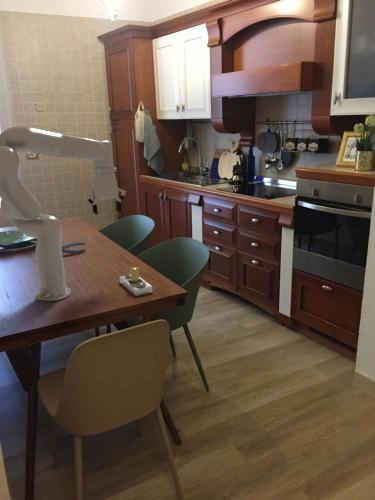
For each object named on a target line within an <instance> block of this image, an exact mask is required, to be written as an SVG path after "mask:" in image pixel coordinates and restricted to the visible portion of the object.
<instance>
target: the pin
mask: <svg viewBox="0 0 375 500" xmlns="http://www.w3.org/2000/svg"><path fill="white" fill-rule="evenodd" d="M139 270H140V269H139V267H138V266H132V267H130V268H129V273H130V277H131V285H132V284H136V283H138V282H139V277H140V271H139Z"/></svg>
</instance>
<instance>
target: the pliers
mask: <svg viewBox="0 0 375 500" xmlns="http://www.w3.org/2000/svg"><path fill="white" fill-rule="evenodd" d="M77 246H86V243H85V242H83V241H82V242H81V241H76V242H71V243H68V244H64V245H63V244H62V255H64V254H71V255H72V254H75V255H76V254H82V253H85V252H86V251H87V250H86V248H84V249H77V250H73V249H71V250H70V249H68V248H71V247H77Z"/></svg>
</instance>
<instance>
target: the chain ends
mask: <svg viewBox="0 0 375 500" xmlns="http://www.w3.org/2000/svg"><path fill="white" fill-rule="evenodd" d="M119 283H120V284H121V285H122V286H124V287H125V288H126V289H127V290H128V291H129V292H130V293H132V295H134V296H135V297H137V296H141V295H142V296H143V295H145V294H150V293H151V294H152V293H153V285H151V284H150V283H148V282H147V281H146V279H143V278H142V277H141V276H139V282H138V283H136V284H132V285H131V277H130V272H129V273H126V274H125V275H122V276H119Z"/></svg>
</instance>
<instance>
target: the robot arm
mask: <svg viewBox="0 0 375 500" xmlns="http://www.w3.org/2000/svg"><path fill="white" fill-rule="evenodd" d="M17 152H20V153H21V152H22V153H23V152H24V153H30V154H36V155H42V156H50V157H53V158H70V159H71V158H74V159H77V160H79V161H83V162H86V161H89V162H90V161H91V162H93V171H94V174H93V175H92V177H91V178H92V180H91V188H92V189H91V190H90V191H88V192H86V193H85V194H84V197H85V199H86V201H87V202H89V203H90V204H91V205H92V212H93V213H94V215H98V214H99V211H98V205H97V203H98V201H104V200H112V199H114V200H116V201H115V210H116V211H117V212H119V213H120V212H121V210H122V205H121V202H122V201H123V199H124V198H125V196H126V193H127V191H126V190H124V189H122V188H120V187H119V186H118V181H117V178H116V174H115V172H117V167H114V165H113V154H112V153H113V152H112V144H111V141H109V140H102V139H101V140H95V139H91V138H86V137H81V136H75V135H74V136H73V135H69V134H64V133H58V132H53V131H49V130H48V131H47V130H44V129H39V128H35V127H30V126H12V127H9V128H7V129H5V130H4V131H2V132H1V133H0V199H1V200H0V209H1V213H2V214H3V215H4V217H6V218H7V219H8V221H9V222H10V223H11V224H12V225H13V226H14V227H15V228H17V230H19V232H20V233H22V234H23V235H25V236H26V237H29V238H33V239H36V240H37V241H36V245H35V258H36V264H37V271H38V272H37V273H38V280H39V291H38V292H37V293H36V295H35V299H36V300H40V301H43V302H54V301H59V300H63V299H66V298H67V297H69V296H70V295H71V294H72V290H71V288H70V287H67V282H66V274H65V265H64V256H63V255H64V254H63V255H62V245H63V244H62V239H63V238H62V235H63V225H62V223H61V221H60V220H59V219H58V218H57V217H56V216H54V215H50V214H45V213H42V206H41V204H40V202H39V201H38V199H37V198H36V197H35V196H34V195H33V194H32V193H31V192H30V191H29V190H28V188H27V187H25V185H24V184H23V183H22V181H20V178H19V168H20V167H19V166H20V157H19V155H18V153H17ZM119 192H120V194H121V195H120V196H119ZM90 196H92V199H91V197H90Z"/></svg>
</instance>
